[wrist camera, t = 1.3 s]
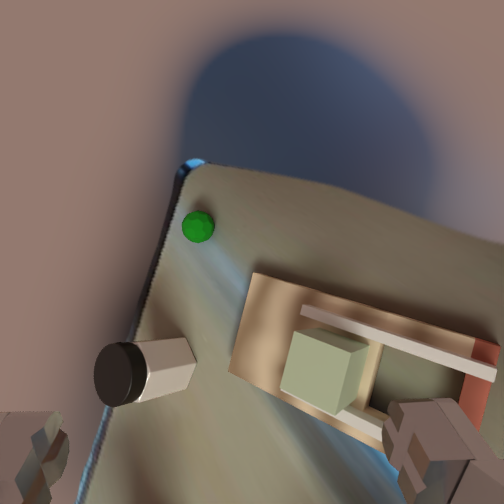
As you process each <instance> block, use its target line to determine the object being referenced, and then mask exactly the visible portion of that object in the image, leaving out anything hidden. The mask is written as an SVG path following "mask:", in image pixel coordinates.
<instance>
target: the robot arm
mask: <svg viewBox="0 0 504 504" xmlns="http://www.w3.org/2000/svg"><path fill="white" fill-rule="evenodd" d="M387 411H388V413H389V416H390V417H389V418H388V419H387V420H386V421H385V422H384V423H383V427H382V432H381V433H382V444H383V448H384V451H385V454H386V457H387V459H388V461H389V463H390V464H391V465H392V466H393V467H394V468H396V469H397V470H398V471H399V476H398V480H397V482H398V484H399V487H400V489H401V491H402V493H403V496H404V498H405V500H406V502H407V504H504V459H498V457H497V456H496V455H495V453H494V452H493V451H492V449H491V448H490V447H489V445H488V444H487V443H486V441H485V440H484V439H483V437H482V436H481V435H480V433H479V432H478V431H477V429H476V428H475V427H474V425H473V424H472V423H471V421H470V420H469V419H468V417H467V416H466V415H465V413H464V412H463V410H462V409H461V408H460V406H459V405H458V404H457V403H456V401H454V400H453V399H451V398H432V399H429V398H423V399H401V400H392V401H391V402H390V403H389V405H388V409H387ZM62 423H63V420H62V417H61V414H60V412H0V504H50V502H51V499H52V497H51V493H50V489H49V488H50V487H51V486H52V485H54V484H55V483H56V482H57V481H58V480H59V479H60V478H61V476H62V474H63V471H64V469H65V466H66V464H67V459H68V454H69V439H68V436H67V434H66V433H64V432H63V431H62V430H61V429H60V427H61V425H62Z"/></svg>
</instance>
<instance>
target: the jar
mask: <svg viewBox="0 0 504 504" xmlns="http://www.w3.org/2000/svg"><path fill="white" fill-rule="evenodd" d="M196 364H197V362H196V360H195V358H194V355H193V353H192V351H191V349H190V346H189V344H188V342H187V340H186V338H185V337H182V338H162V339H152V340H143V341H133V342H122V343H121V342H117V343H113V344H109V345H107V346H105V347H104V348H103V349H102V350H101V352H100V353H99V355H98V357H97V359H96V363H95V367H94V383H95V388H96V391H97V394H98V396H99V398H100V399H101V401H102V402H103V403H104V404H106V405H107V406H110V407H117V406H121V405H125V404H128V403H132V402H138V403H139V402H143V401H146V400H150V399H153V398H157V397H160V396H164V395H167V394H170V393H174V392H177V391H181V390H184V389H187V387H188V384H189V382H190V379H191V377H192V374H193V371H194V369H195V366H196Z"/></svg>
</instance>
